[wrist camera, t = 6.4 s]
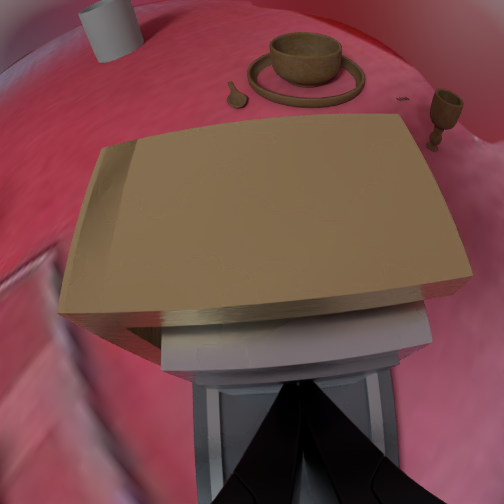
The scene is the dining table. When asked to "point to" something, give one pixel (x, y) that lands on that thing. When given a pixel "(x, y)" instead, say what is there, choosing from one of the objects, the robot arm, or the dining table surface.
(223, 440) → the rail plate
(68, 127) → the dining table surface
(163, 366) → the grey slider block
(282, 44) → the place setting
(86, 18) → the cup
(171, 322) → the tan open box housing
